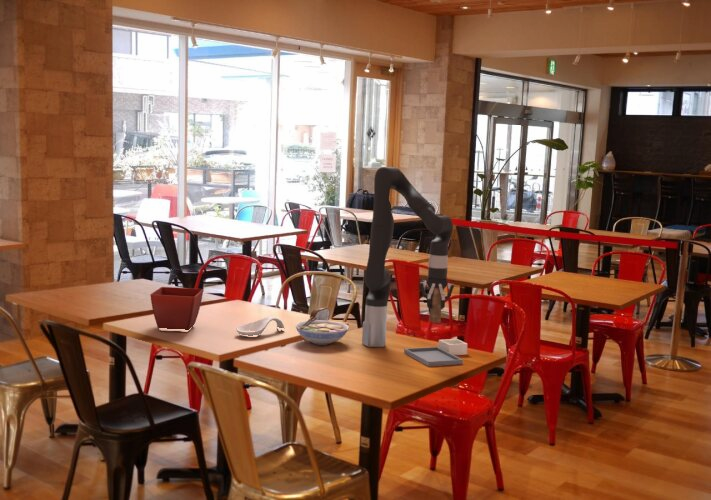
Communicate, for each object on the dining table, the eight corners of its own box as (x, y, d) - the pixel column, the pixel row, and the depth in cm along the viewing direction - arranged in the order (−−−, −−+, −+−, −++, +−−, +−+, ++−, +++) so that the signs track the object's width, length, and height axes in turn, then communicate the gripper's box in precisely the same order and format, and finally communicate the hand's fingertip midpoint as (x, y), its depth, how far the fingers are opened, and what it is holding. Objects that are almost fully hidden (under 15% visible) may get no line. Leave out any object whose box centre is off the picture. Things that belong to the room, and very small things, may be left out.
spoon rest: (248, 341, 337) (248, 324, 336) (230, 336, 345) (231, 319, 344) (289, 333, 355) (290, 317, 354) (272, 329, 363) (272, 313, 362)
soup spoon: (324, 322, 380) (325, 305, 379) (330, 323, 379) (331, 305, 378) (308, 328, 367) (309, 309, 366) (314, 329, 366) (315, 310, 365)
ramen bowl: (341, 352, 325) (342, 332, 324) (287, 347, 329) (287, 327, 328) (353, 338, 349) (354, 320, 348) (303, 334, 354) (303, 316, 353)
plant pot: (193, 335, 343) (194, 296, 341) (149, 333, 343) (149, 294, 341) (203, 325, 362) (203, 288, 360) (160, 323, 362) (161, 286, 360)
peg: (433, 322, 318) (435, 287, 316) (429, 320, 321) (431, 286, 319) (440, 322, 319) (442, 287, 318) (436, 320, 322) (438, 286, 321)
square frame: (448, 355, 328) (449, 344, 327) (438, 350, 336) (438, 339, 335) (466, 354, 331) (467, 343, 331) (456, 349, 339) (456, 338, 338)
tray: (428, 366, 309) (428, 361, 309) (404, 352, 329) (404, 348, 328) (462, 364, 315) (462, 359, 315) (436, 350, 335) (437, 346, 334)
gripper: (456, 266, 320) (453, 308, 322) (420, 263, 322) (418, 305, 324) (456, 268, 313) (453, 311, 315) (419, 266, 315) (417, 309, 317)
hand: (435, 308), depth 320 cm, fingers closed on peg, 4 cm apart
